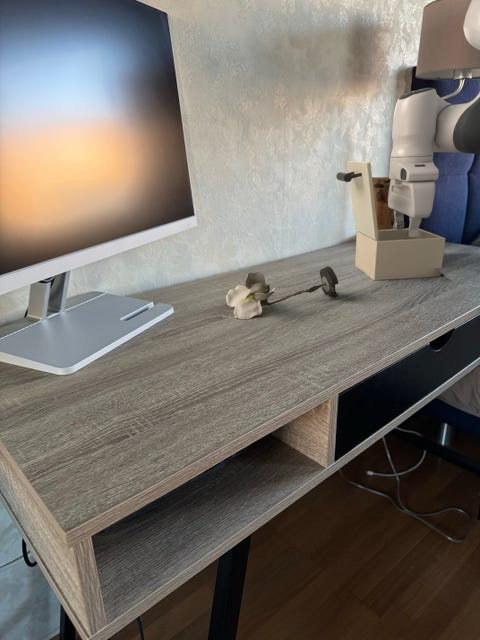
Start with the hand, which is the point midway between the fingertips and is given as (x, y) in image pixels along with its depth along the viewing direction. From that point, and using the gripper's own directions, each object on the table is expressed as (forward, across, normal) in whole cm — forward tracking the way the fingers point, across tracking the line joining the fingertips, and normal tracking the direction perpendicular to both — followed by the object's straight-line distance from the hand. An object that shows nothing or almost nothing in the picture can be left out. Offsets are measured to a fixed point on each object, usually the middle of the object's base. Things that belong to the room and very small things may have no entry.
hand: (405, 232), depth 104 cm
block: (+9, -27, +1) cm, 29 cm away
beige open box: (+9, 0, -2) cm, 9 cm away
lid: (-8, +1, -10) cm, 13 cm away
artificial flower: (+9, +24, -30) cm, 39 cm away
